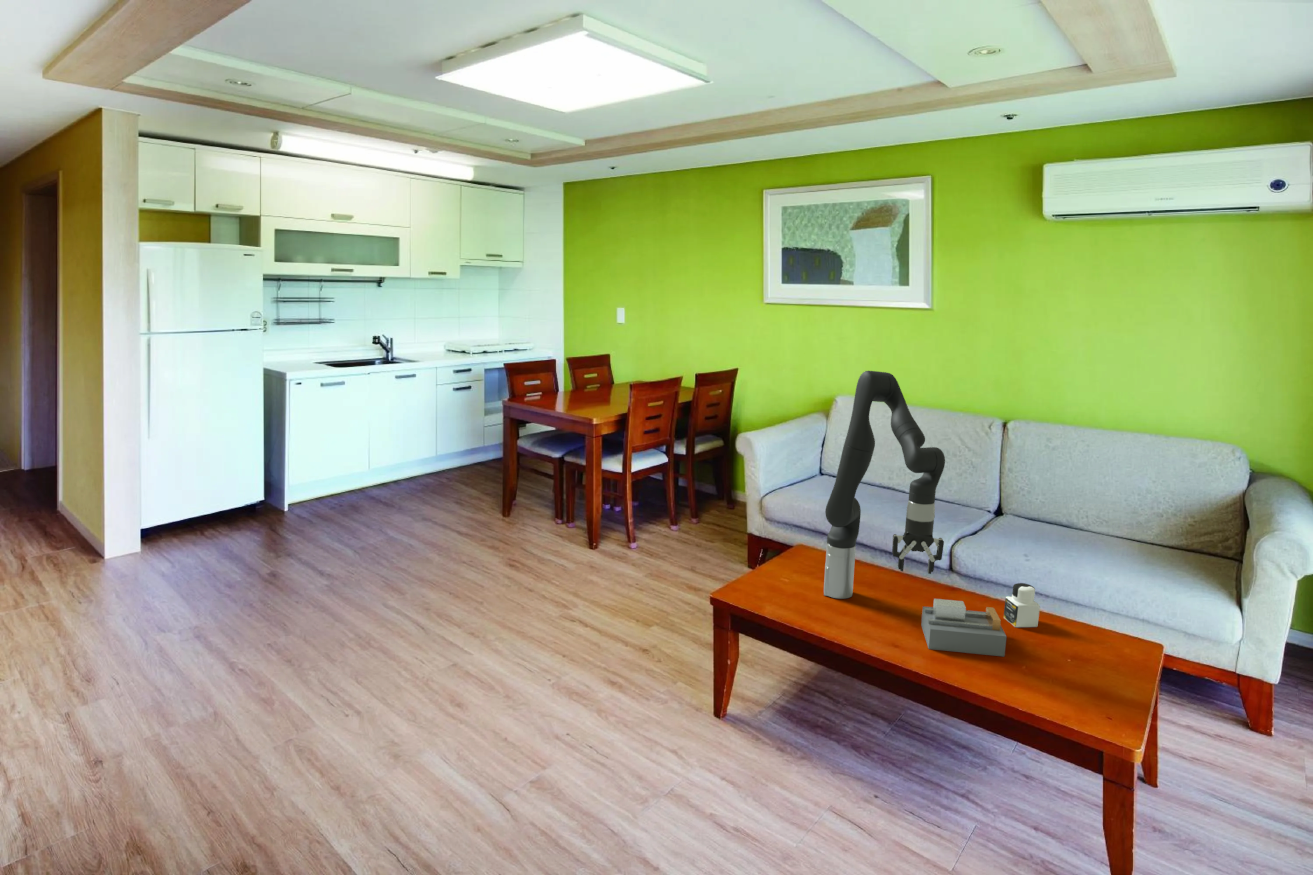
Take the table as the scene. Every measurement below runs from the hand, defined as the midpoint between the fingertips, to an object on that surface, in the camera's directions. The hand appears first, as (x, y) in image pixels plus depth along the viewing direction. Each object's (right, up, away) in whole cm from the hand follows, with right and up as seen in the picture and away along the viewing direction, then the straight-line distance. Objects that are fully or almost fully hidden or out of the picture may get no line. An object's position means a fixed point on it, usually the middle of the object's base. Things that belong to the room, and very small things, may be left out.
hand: (915, 571), depth 222 cm
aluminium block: (+10, -14, +1) cm, 17 cm away
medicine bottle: (+37, -18, +14) cm, 43 cm away
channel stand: (+14, -20, +1) cm, 24 cm away
